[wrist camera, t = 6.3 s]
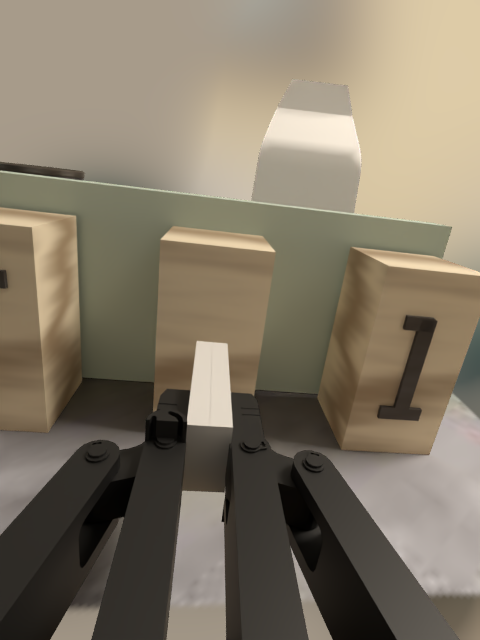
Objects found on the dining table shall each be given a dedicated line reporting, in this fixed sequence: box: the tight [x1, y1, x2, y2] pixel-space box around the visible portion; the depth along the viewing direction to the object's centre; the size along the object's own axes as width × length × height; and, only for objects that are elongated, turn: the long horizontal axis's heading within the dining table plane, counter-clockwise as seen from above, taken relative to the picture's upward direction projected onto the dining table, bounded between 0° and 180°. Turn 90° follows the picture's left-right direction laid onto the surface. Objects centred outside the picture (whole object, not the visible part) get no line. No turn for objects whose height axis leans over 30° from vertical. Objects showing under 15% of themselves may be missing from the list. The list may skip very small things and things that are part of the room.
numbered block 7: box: [0, 207, 82, 433], centre depth 22 cm, size 6×6×12 cm
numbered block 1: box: [317, 247, 480, 455], centre depth 25 cm, size 6×6×12 cm
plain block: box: [153, 226, 276, 412], centre depth 24 cm, size 6×6×12 cm
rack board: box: [0, 171, 452, 394], centre depth 28 cm, size 2×32×14 cm, turn 93°
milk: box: [251, 79, 361, 213], centre depth 44 cm, size 12×12×26 cm
